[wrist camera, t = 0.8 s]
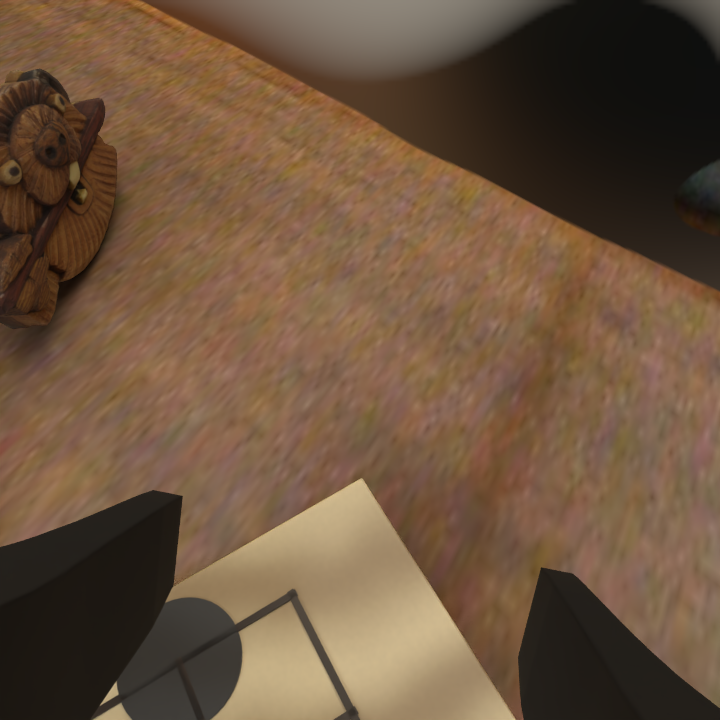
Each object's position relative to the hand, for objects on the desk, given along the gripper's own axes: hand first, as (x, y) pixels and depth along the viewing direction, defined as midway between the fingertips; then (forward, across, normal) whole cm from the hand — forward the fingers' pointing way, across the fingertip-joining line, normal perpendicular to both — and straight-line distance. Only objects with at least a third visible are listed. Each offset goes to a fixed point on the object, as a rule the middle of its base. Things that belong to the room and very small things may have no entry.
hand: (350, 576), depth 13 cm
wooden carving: (+29, +20, 0) cm, 35 cm away
